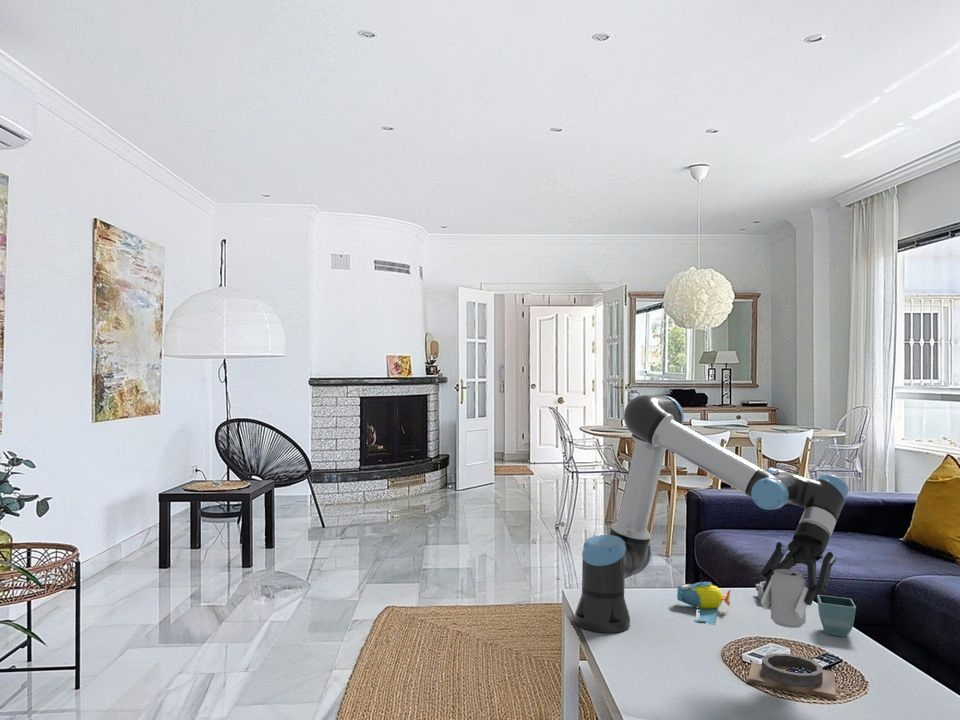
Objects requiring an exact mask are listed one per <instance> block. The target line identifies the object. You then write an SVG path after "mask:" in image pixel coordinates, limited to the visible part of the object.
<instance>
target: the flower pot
mask: <svg viewBox="0 0 960 720" xmlns="http://www.w3.org/2000/svg"><path fill="white" fill-rule="evenodd" d="M816 597H817V609H818V616H819V620H820V623H821V625H822V628H823V631H824V633H825V634H826V635H828V636H829V635H830V636H836V637H837V636H838V637H842V638H847V637H848V635H850V633H851V632H852V630H853V627H854V622H855V618H856V617H855V616H856V610H857V606H856V605H855V603H854V601H853V599H852V598H848V597H841V596H839V597H838V596H831V595H825V594H816Z"/></svg>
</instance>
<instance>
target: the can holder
mask: <svg viewBox="0 0 960 720" xmlns="http://www.w3.org/2000/svg"><path fill="white" fill-rule="evenodd" d="M761 659H762V664H757V663H754V662H752V661H751V664H750V667H749V668H750V669H749V672H748V676H747V684H752V685H757V686H758V685H759V686H763V687H769V688H772V689H773V688H774V689H779V690H783V689H784V691H789V690H790V692H794V691H795V693H799V692H801V693H800V694H805V693H806V694H807V695H810V696H811V695H812V696H817V697H822V698H827V699H832V700H837V691H836V690H837V689H836V676H835V671H831V670H827V669H823V668H824V667H823V666H822V665H821V664H819V663H818V662H816V661H815V660H813V659H809V658H807V657H804V656H801V655H795V654H789V653H769V654H767V655H766V654H765V655H763V656H762V658H761ZM792 667H802V668H805V669H808V670H810V671H811V673H793V672H788V671H786V670H788V669H790V668H792Z"/></svg>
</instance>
